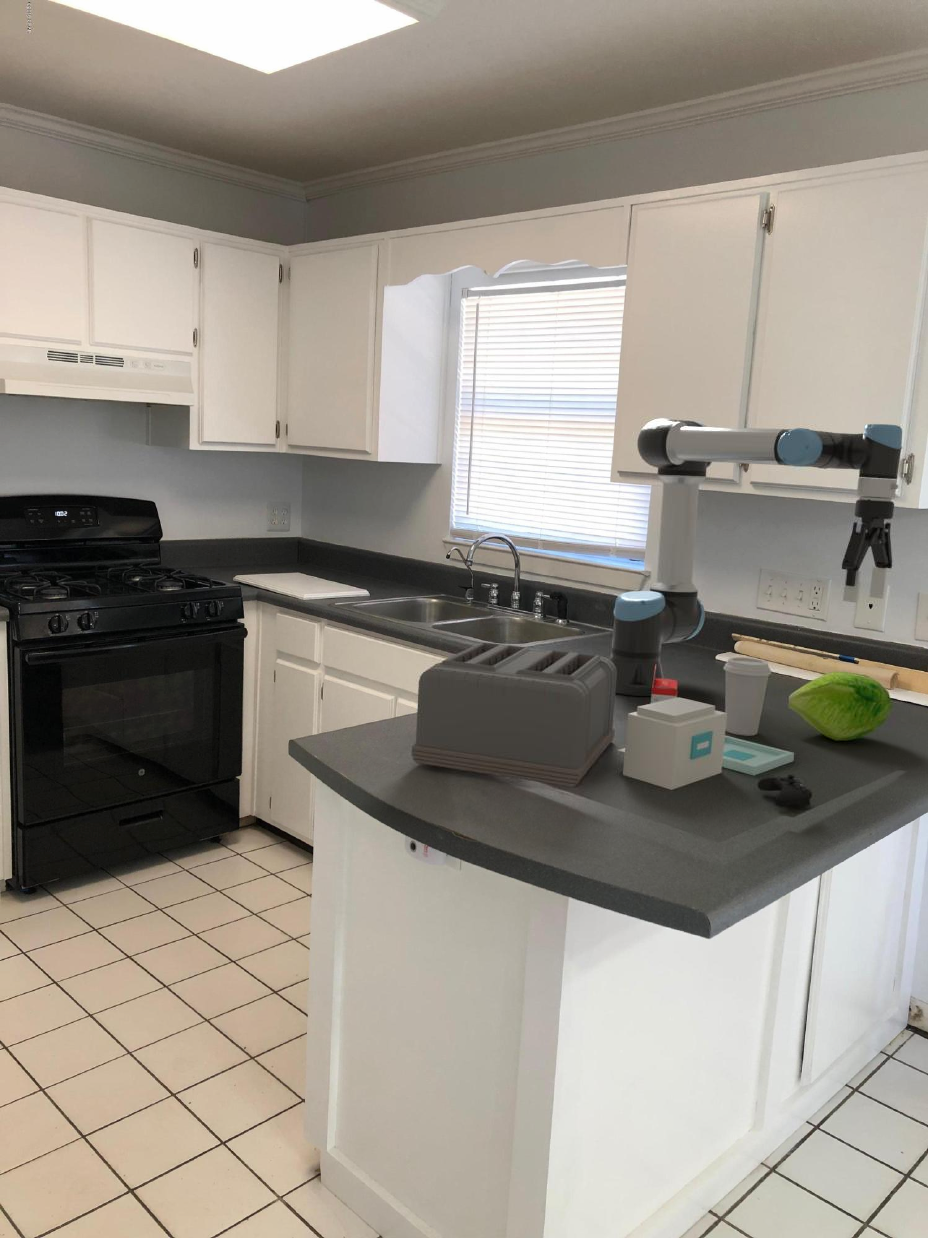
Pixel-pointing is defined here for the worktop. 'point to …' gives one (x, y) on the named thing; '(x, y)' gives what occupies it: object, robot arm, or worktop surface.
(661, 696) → the ink box
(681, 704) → the white lidded box
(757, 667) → the coffee cup
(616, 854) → the worktop surface
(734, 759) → the tray
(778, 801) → the gaming controller
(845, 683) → the lettuce
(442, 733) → the toaster
